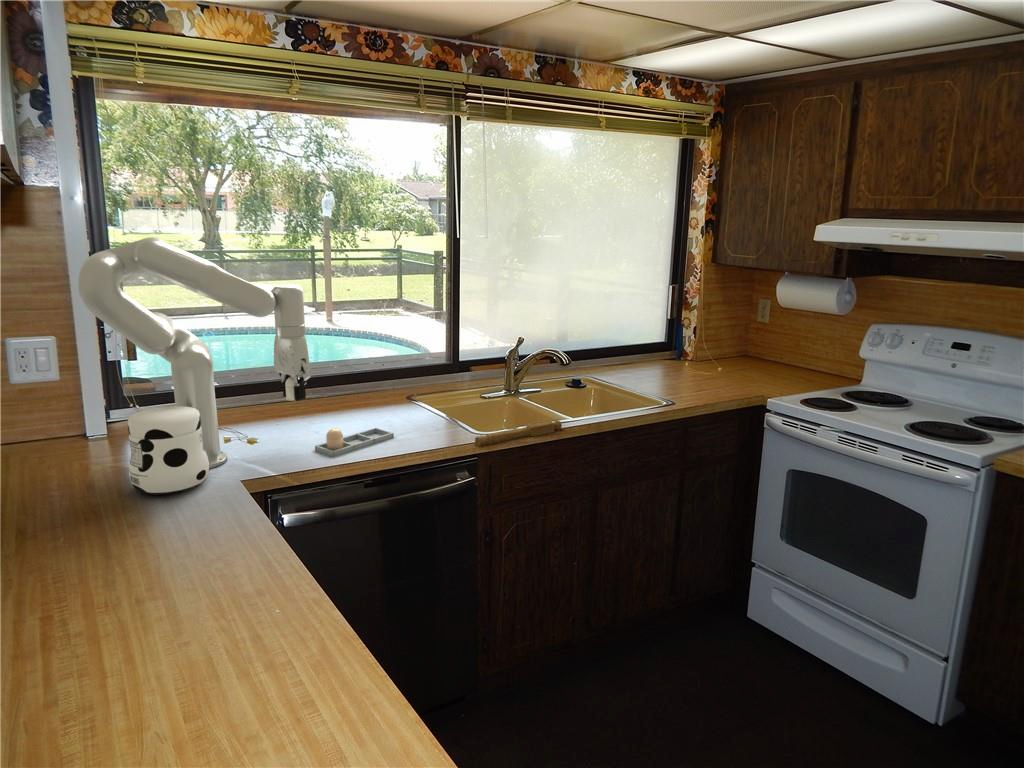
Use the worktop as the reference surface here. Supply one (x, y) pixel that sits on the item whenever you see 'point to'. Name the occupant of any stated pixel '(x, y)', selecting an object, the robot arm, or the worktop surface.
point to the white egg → (290, 388)
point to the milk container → (167, 450)
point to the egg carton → (356, 442)
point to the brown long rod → (520, 432)
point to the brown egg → (334, 439)
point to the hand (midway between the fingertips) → (294, 397)
